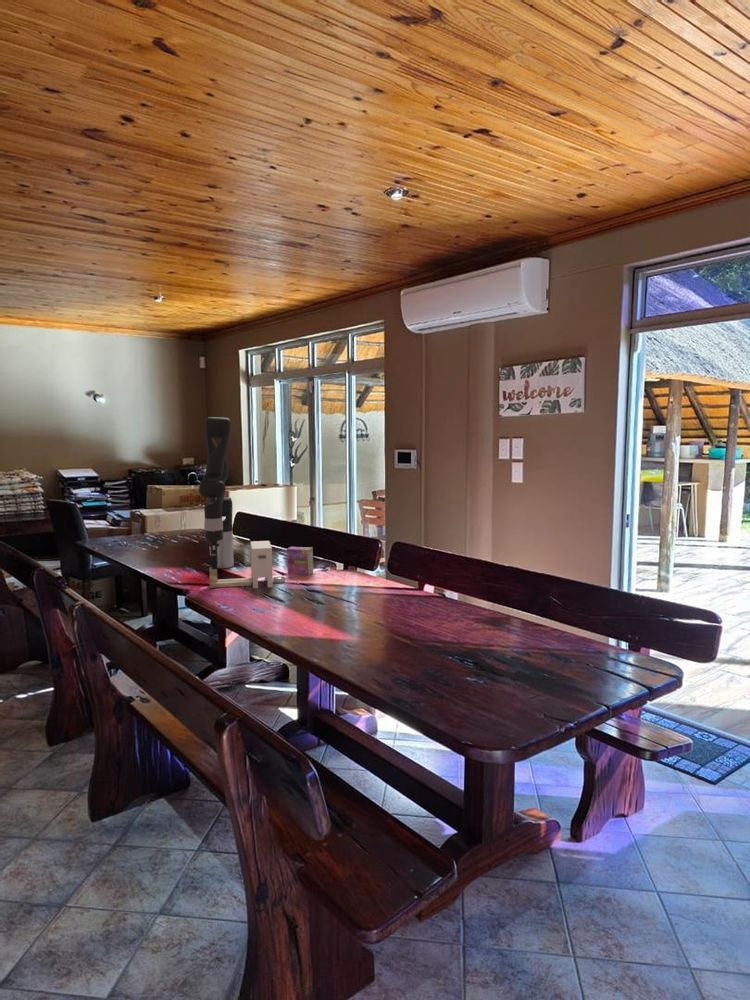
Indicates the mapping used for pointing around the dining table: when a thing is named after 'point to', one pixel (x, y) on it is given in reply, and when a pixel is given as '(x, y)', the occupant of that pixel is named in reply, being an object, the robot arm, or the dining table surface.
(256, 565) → the notched block
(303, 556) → the box
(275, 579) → the puck
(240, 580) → the stepped wooden block
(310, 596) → the dining table surface
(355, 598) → the dining table surface
